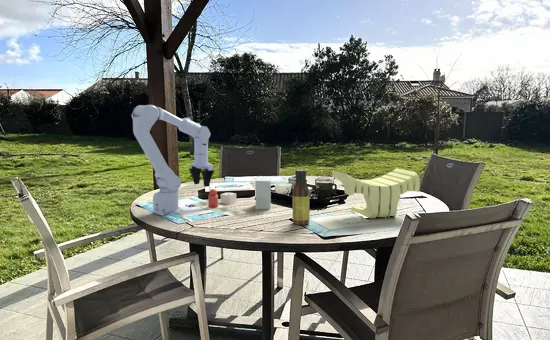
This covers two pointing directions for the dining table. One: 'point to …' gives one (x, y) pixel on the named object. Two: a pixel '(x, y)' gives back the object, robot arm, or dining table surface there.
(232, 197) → the die
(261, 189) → the small box
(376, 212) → the slatted curved stool
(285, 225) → the dining table surface
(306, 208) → the sauce bottle
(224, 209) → the board
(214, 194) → the pawn
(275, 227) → the dining table surface
